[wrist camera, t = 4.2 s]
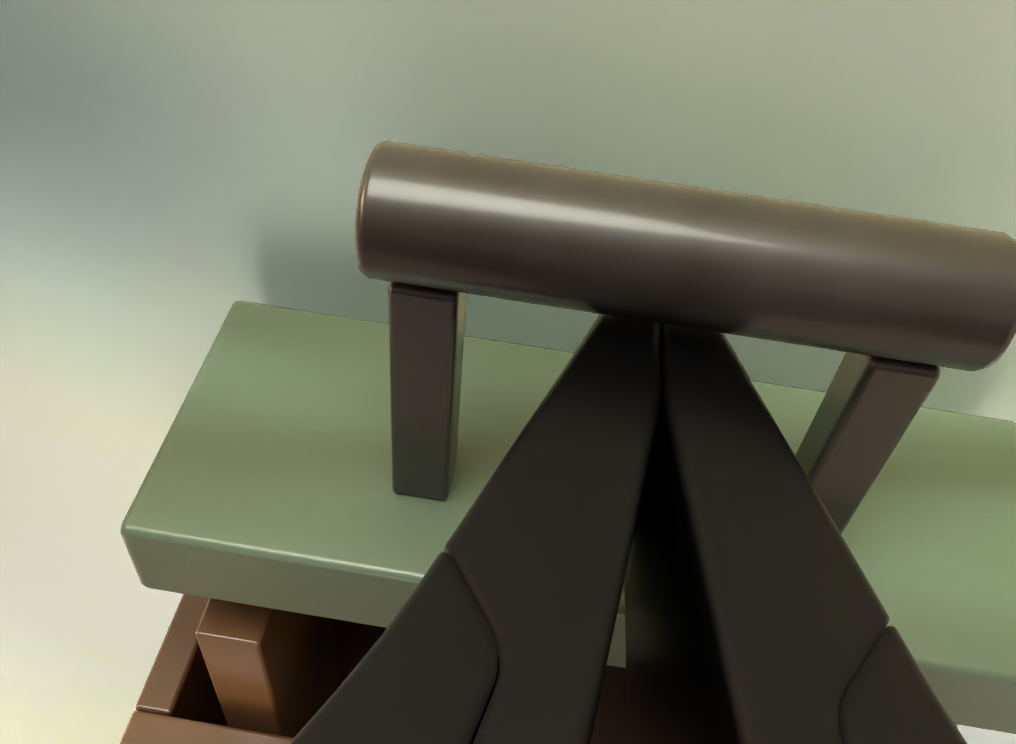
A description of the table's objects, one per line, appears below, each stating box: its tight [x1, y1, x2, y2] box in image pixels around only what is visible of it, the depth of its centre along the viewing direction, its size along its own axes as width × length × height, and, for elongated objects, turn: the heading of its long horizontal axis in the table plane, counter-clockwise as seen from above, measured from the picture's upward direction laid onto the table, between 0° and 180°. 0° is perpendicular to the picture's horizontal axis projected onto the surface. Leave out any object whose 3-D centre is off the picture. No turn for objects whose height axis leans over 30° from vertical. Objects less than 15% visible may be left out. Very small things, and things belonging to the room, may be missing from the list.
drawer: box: [121, 141, 1016, 744], centre depth 13 cm, size 15×10×4 cm
